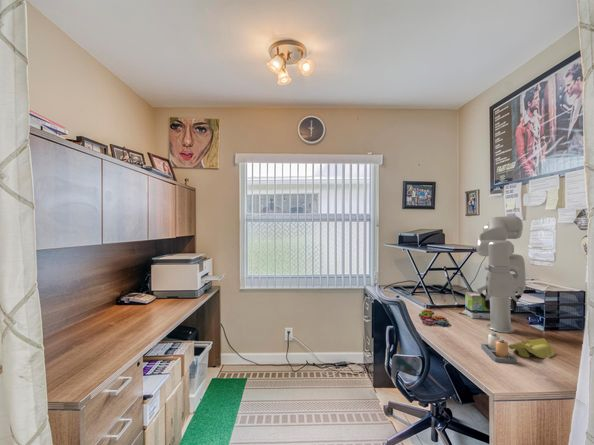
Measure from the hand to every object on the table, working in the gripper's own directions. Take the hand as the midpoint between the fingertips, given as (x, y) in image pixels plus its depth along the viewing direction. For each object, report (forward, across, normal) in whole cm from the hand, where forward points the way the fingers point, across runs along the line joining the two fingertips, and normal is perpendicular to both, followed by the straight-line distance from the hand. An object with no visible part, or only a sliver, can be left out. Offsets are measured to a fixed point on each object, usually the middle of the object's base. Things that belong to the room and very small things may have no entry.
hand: (500, 309), depth 126 cm
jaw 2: (+21, 0, +8) cm, 22 cm away
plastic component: (+23, +14, +10) cm, 29 cm away
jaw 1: (+21, 0, 0) cm, 21 cm away
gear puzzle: (+23, -17, +57) cm, 64 cm away
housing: (+22, 0, +4) cm, 22 cm away
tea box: (+23, +14, +68) cm, 73 cm away
